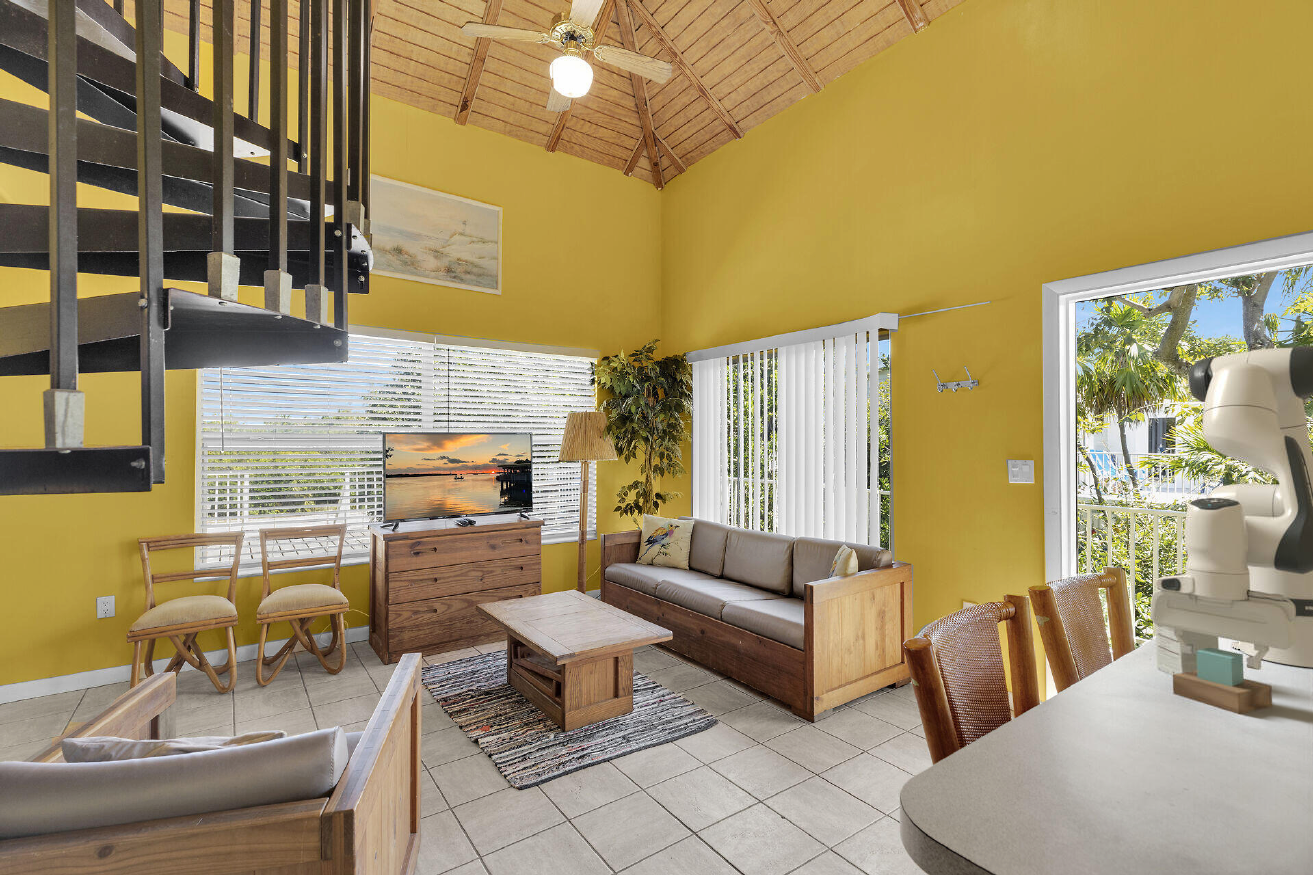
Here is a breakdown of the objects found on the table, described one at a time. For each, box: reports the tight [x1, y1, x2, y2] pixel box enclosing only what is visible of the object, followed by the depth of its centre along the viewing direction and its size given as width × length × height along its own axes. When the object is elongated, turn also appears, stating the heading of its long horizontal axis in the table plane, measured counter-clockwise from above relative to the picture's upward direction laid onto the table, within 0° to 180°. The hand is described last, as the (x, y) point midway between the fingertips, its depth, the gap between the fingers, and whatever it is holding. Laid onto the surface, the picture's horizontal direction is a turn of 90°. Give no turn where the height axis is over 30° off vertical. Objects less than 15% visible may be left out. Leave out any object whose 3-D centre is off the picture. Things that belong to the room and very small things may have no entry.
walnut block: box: [1172, 670, 1273, 715], centre depth 113 cm, size 10×10×4 cm
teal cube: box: [1197, 647, 1245, 687], centre depth 114 cm, size 5×5×5 cm
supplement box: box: [1155, 624, 1220, 677], centre depth 127 cm, size 7×7×13 cm
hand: (1220, 660), depth 114 cm, fingers open, 8 cm apart
